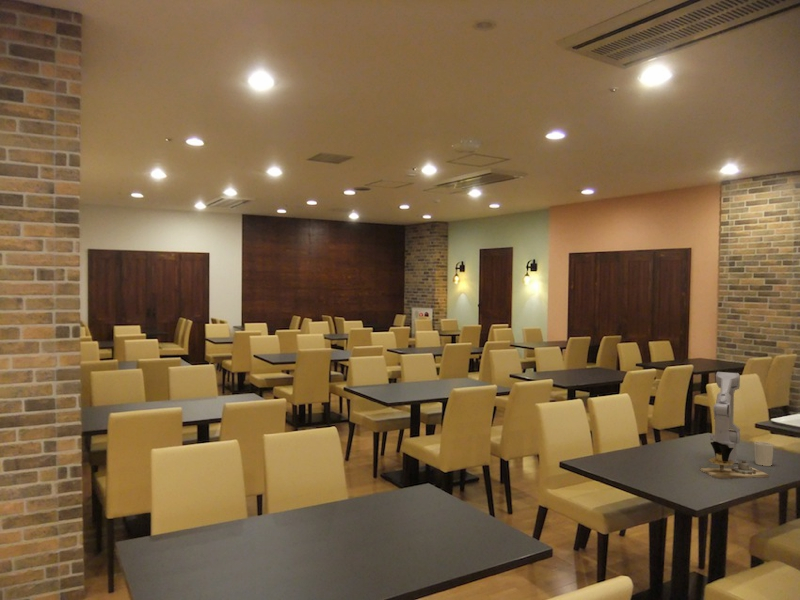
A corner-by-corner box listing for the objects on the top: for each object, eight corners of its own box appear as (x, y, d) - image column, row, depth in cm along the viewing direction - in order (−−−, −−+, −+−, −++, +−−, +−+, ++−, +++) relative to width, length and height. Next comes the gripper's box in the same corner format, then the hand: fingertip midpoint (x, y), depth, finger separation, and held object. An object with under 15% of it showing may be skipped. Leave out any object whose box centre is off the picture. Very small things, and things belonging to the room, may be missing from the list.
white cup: (770, 462, 282) (770, 442, 282) (775, 467, 275) (775, 446, 275) (752, 461, 285) (752, 440, 285) (756, 465, 278) (756, 444, 277)
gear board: (700, 470, 270) (700, 457, 270) (751, 469, 272) (751, 456, 272) (716, 478, 258) (716, 465, 258) (769, 477, 260) (769, 463, 260)
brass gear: (724, 459, 270) (724, 450, 270) (738, 465, 260) (738, 456, 260) (705, 459, 269) (705, 451, 269) (718, 466, 259) (718, 457, 259)
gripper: (703, 426, 271) (703, 455, 271) (723, 433, 257) (723, 464, 257) (718, 426, 272) (718, 455, 272) (738, 433, 257) (738, 464, 257)
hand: (721, 459), depth 264 cm, fingers closed on brass gear, 4 cm apart
